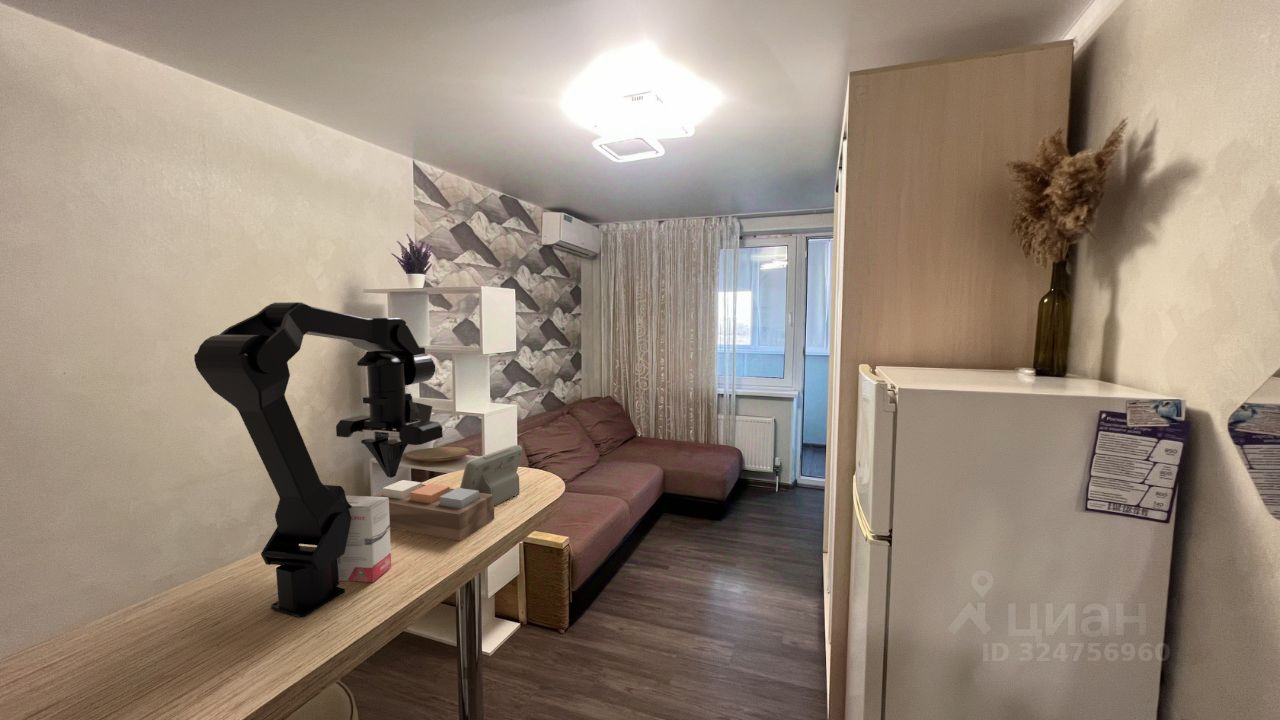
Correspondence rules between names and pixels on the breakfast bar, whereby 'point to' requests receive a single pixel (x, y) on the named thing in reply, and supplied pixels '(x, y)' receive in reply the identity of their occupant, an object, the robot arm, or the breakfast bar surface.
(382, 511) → the ink box
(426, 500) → the terracotta key
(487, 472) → the digital clock
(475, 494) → the grey key
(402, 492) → the cream key
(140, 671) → the breakfast bar surface
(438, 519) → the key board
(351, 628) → the breakfast bar surface
